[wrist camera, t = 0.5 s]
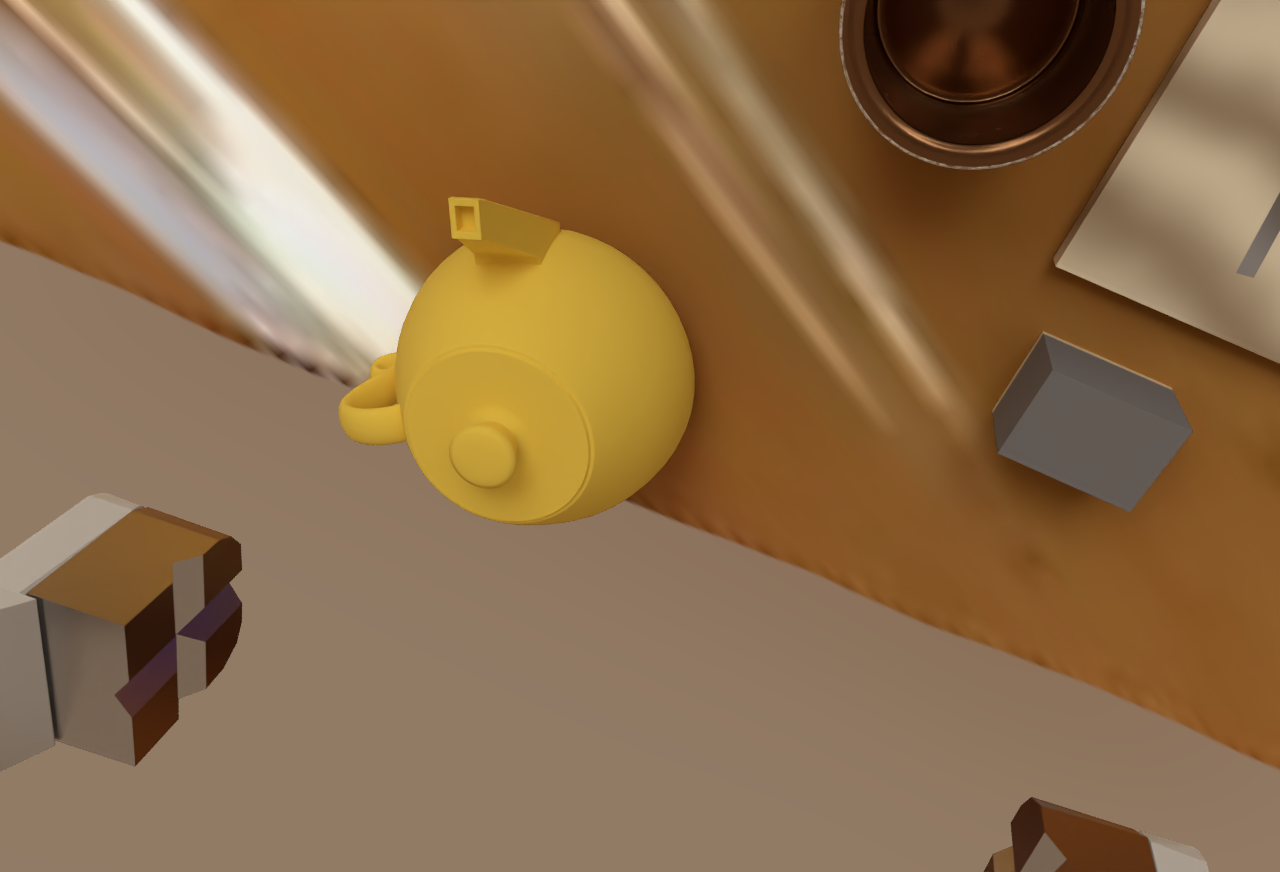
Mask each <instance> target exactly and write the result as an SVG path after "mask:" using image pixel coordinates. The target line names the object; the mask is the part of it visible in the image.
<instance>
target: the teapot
mask: <svg viewBox="0 0 1280 872" xmlns="http://www.w3.org/2000/svg"><path fill="white" fill-rule="evenodd" d="M448 201H449V212H450V223H451V234H452V239H458V240H459V241H460V242H461V243H462V244H463V246H462V247H460V248H459V249H457V250H456V251H455V252H454V253H453V254H451V255H450V256H449V257H448V258H446V259H445V260H444V261H443V262H442V263H441V264H440V265H439V266H438V267H437V268H436V269H435V270H434V272H433V273H432V274H431V275H430V276H429V277H428V279H427V280H426V282H425V283H424V285H423V286H422V288H421V289H420V291H419V292H418V294H417V296H416V297H415V299H414V301H413V303H412V305H411V308H410V310H409V312H408V314H407V316H406V319H405V321H404V323H403V327H402V330H401V334H400V337H399V342H398V347H397V352H396V353H391V354H388V355H384V356H382V357H380V358H378V359H377V360H376V361H375V362H374V363H373V364H372V366H371V369H370V374H369V375H370V379H369V380H367V381H365V382H364V383H362V384H360V385H359V386H357V387H356V388H354V389H353V390H352V391H350V392H349V393H348V394H347V395H346V396H345V397H344V398H343V399H342V401H341V403H340V405H339V419H340V423H341V425H342V428H343V430H344V432H345V433H346V434H347V435H348V437H349V438H351V439H352V440H354V441H355V442H358V443H361V444H367V445H387V444H394V443H400V442H404V441H407V443H408V446H409V448H410V451H411V453H412V455H413V456H414V458H415V460H416V462H417V464H418V466H419V467H420V469H421V470H422V472H423V473H424V475H425V476H426V477H427V478H428V480H429V481H430V482H431V483H432V484H433V486H434V487H435V488H436V489H437V490H438V491H439V492H441V493H442V494H443V495H444V496H445V497H446V498H448V499H449V500H450V501H452V502H453V503H454V504H456V505H458V506H459V507H461V508H463V509H464V510H466V511H468V512H470V513H473V514H475V515H477V516H480V517H483V518H486V519H489V520H493V521H498V522H502V523H508V524H516V525H545V524H556V523H564V522H570V521H574V520H578V519H582V518H586V517H590V516H593V515H595V514H598V513H600V512H603V511H605V510H607V509H609V508H612V507H613V506H615V505H617V504H619V503H621V502H622V501H624V500H626V499H628V498H629V497H630V496H631V495H633V494H634V493H635V492H637V491H638V490H639V489H640V488H642V487H643V486H644V485H646V484H647V483H648V482H649V481H650V480H651V479H652V478H653V477H654V476H655V475H656V474H657V473H658V471H659V470H660V469H661V468H662V467H663V466H664V465H665V464H666V463H667V461H668V460H669V458H670V457H671V455H672V454H673V453H674V451H675V449H676V448H677V446H678V444H679V442H680V440H681V438H682V436H683V434H684V432H685V430H686V428H687V425H688V421H689V418H690V415H691V412H692V406H693V400H694V388H695V374H694V366H693V358H692V353H691V349H690V346H689V342H688V338H687V335H686V333H685V330H684V328H683V326H682V323H681V321H680V318H679V316H678V314H677V312H676V311H675V309H674V307H673V306H672V304H671V302H670V300H669V299H668V297H667V296H666V295H665V293H664V292H663V291H662V289H661V288H660V287H659V285H658V284H657V283H656V282H655V281H654V280H653V279H652V278H651V277H650V276H649V275H648V274H647V273H646V272H645V270H644V269H642V268H641V267H640V266H639V265H637V264H636V263H635V262H634V261H633V260H631V259H630V258H629V257H628V256H626V255H624V254H623V253H621V252H620V251H618V250H616V249H615V248H613V247H612V246H610V245H608V244H605V243H603V242H601V241H599V240H597V239H595V238H593V237H589V236H586V235H583V234H580V233H577V232H574V231H569V230H564V229H560V224H559V222H558V221H554V220H551V219H548V218H545V217H541V216H538V215H535V214H531V213H528V212H525V211H521V210H518V209H515V208H511V207H508V206H505V205H501V204H498V203H495V202H492V201H488V200H485V199H482V198H465V197H450V198H448ZM396 403H397V405H394V404H396ZM392 405H393V406H392Z"/></svg>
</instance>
